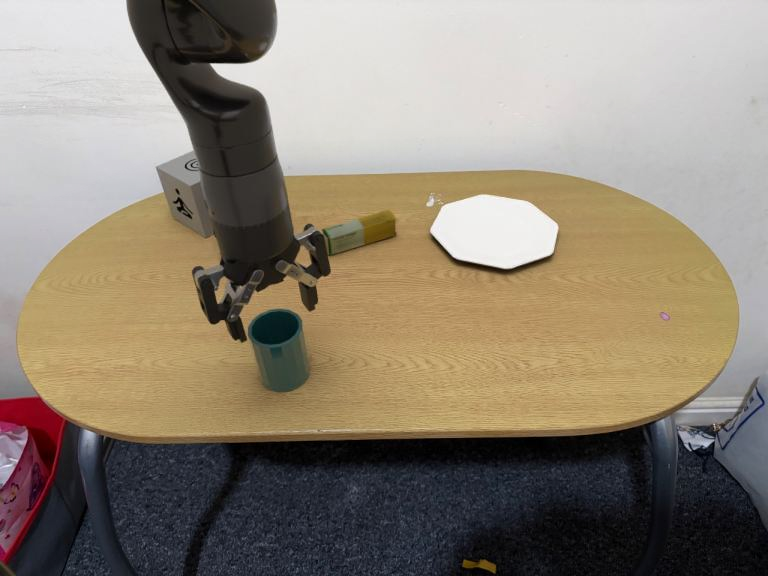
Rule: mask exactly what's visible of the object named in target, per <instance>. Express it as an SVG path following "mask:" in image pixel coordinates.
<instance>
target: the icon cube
mask: <svg viewBox="0 0 768 576" xmlns="http://www.w3.org/2000/svg"><path fill="white" fill-rule="evenodd" d="M155 169H156V172H157V175H158V178H159V182H160V185H161V187H162V190H163V193H164V196H165V199H166V202H167V204H168V208H169V211H170V214H171V217H172V219H174V220H176V221H177V222H179V223H181V224H182V225H184V226H185V227H186V228H188V229H190V230H191V231H193V232H195V233H197V234H198V235H200V236H201V237H203V238H204V239H207V238H209V237H211V236H214V231H213V225H212V222H211V219H210V215H209V212H208V210H207V208H206V206H205V203H204V195H203V191H202V187H201V180H200V173H199V168H198V164H197V160H196V157H195V154H194V150H192V151H191V150H190V151H189V152H186V153H185V154H183V155H180V156H177V157H175V158H172V159H170V160H168V161H165V162H163V163H161V164H159V165H156V166H155Z"/></svg>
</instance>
